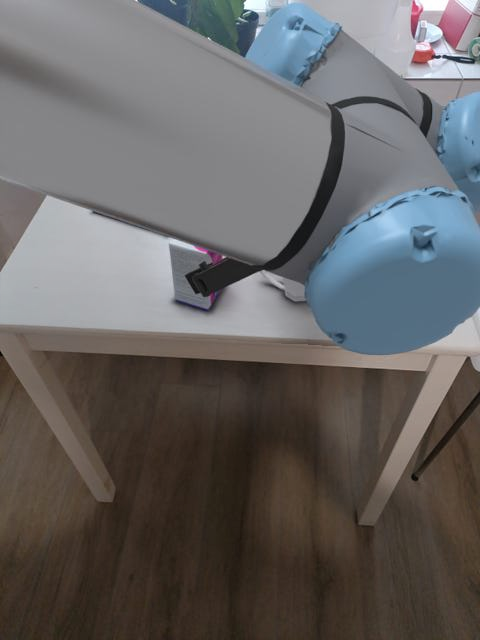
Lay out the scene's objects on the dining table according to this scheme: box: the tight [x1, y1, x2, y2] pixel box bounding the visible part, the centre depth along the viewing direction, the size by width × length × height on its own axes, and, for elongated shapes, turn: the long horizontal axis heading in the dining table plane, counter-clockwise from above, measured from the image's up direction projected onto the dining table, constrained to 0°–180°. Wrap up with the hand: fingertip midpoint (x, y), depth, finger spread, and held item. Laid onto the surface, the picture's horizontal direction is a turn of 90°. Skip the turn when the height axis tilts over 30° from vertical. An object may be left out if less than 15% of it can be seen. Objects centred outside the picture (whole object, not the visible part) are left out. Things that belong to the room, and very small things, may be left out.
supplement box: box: [168, 238, 223, 312], centre depth 71 cm, size 6×6×12 cm
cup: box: [259, 270, 307, 302], centre depth 73 cm, size 7×10×8 cm
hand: (232, 257), depth 63 cm, fingers open, 13 cm apart
